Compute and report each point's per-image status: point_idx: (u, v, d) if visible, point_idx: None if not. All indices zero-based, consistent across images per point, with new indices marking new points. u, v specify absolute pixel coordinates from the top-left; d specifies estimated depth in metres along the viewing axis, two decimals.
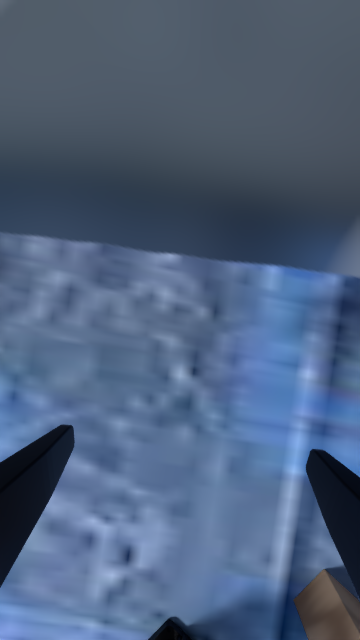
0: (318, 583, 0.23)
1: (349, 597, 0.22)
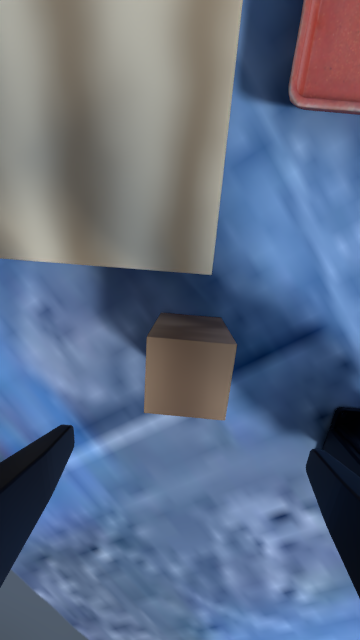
0: None
1: None
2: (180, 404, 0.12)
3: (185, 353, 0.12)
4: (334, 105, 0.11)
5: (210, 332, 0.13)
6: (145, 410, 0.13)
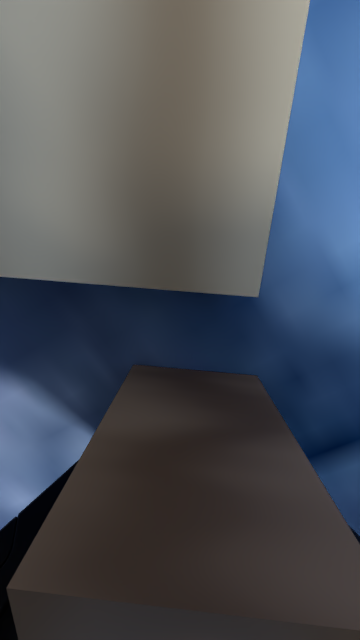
0: None
1: None
2: None
3: None
4: None
5: (260, 479, 0.04)
6: None
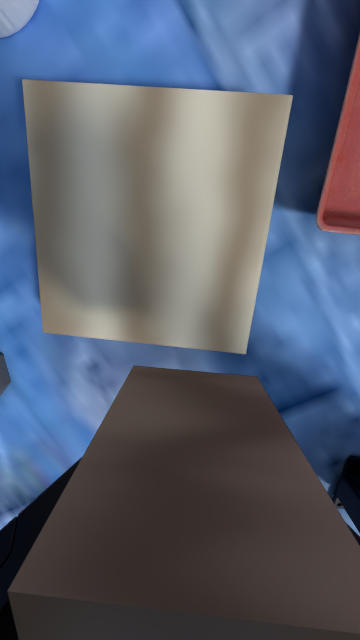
0: None
1: None
2: None
3: None
4: (353, 232, 0.13)
5: (260, 482, 0.04)
6: None
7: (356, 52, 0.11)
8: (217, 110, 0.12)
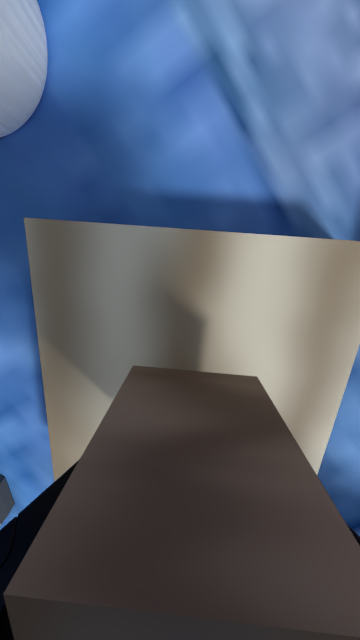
0: None
1: None
2: None
3: None
4: None
5: (260, 483, 0.04)
6: None
7: None
8: (288, 258, 0.09)
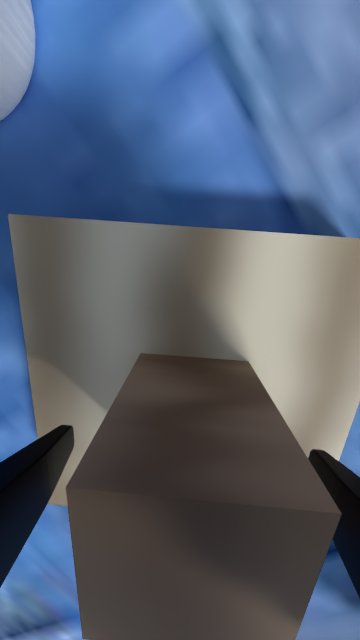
0: None
1: None
2: (172, 629, 0.05)
3: (183, 530, 0.04)
4: None
5: (244, 431, 0.05)
6: (85, 634, 0.05)
7: None
8: (300, 259, 0.08)
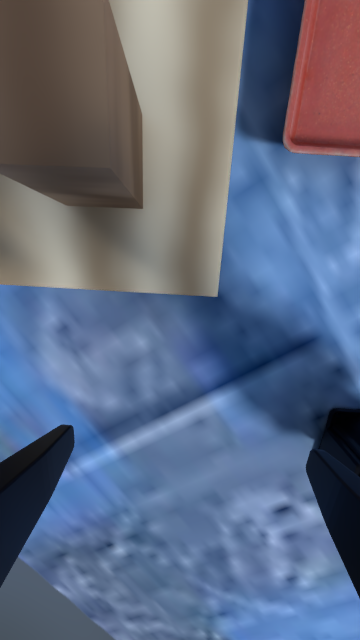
0: (83, 204, 0.13)
1: None
2: (32, 138, 0.07)
3: (17, 11, 0.07)
4: (322, 151, 0.12)
5: None
6: None
7: None
8: (167, 8, 0.11)
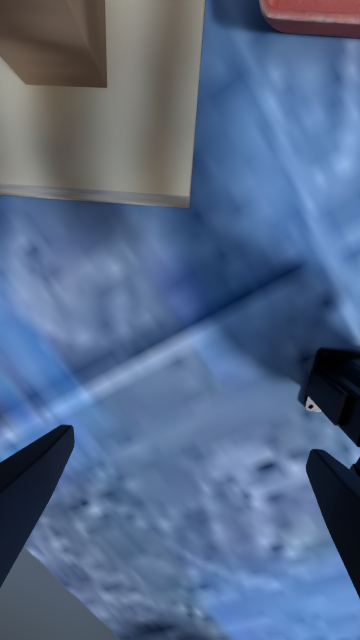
0: (41, 77, 0.12)
1: None
2: None
3: None
4: (303, 15, 0.11)
5: None
6: None
7: None
8: None
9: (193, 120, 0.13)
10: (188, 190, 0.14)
